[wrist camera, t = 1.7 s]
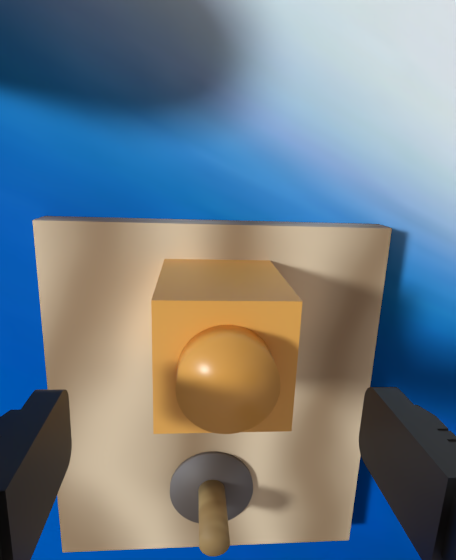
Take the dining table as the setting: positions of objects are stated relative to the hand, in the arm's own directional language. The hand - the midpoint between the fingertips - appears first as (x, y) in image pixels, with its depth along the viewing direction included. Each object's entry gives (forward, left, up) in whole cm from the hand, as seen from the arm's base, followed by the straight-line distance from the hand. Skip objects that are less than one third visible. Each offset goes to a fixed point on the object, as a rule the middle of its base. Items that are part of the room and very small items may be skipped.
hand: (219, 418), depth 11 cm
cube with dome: (0, 0, -9) cm, 9 cm away
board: (0, +5, -10) cm, 11 cm away
